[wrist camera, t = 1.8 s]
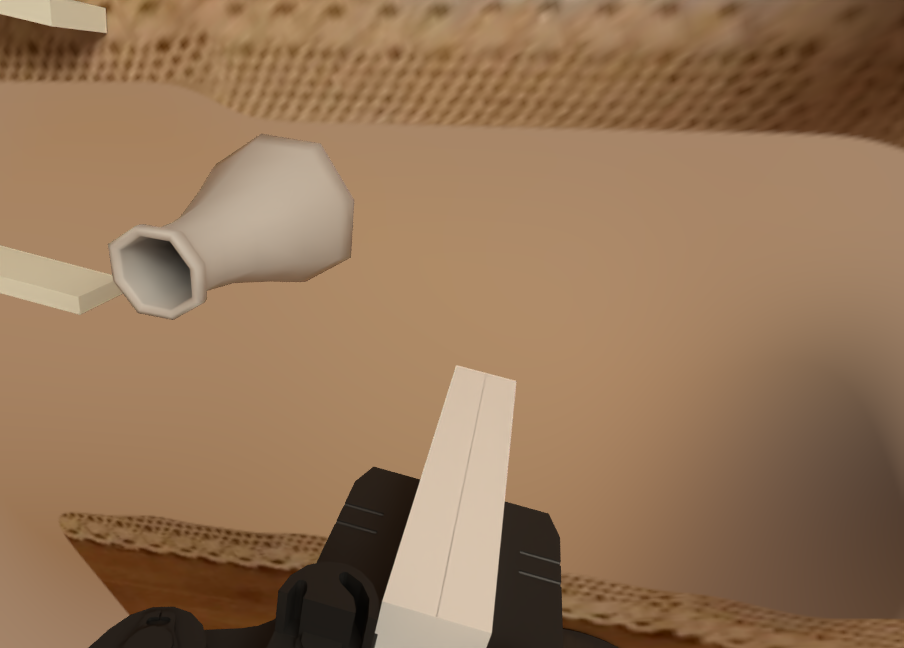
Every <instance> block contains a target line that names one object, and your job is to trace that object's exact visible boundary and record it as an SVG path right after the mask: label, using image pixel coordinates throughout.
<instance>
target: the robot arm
mask: <svg viewBox="0 0 904 648" xmlns="http://www.w3.org/2000/svg"><path fill="white" fill-rule="evenodd" d="M515 390H516V381H514V380H511V379H507V378H503V377H499V376H496V375H492V374H488V373H484V372H480V371H477V370H473V369H469V368H465V367H462V366H458V365H456V368H455V371H454V374H453V377H452V380H451V384H450V387H449V390H448V393H447V396H446V400H445V403H444V406H443V409H442V413H441V416H440V419H439V422H438V425H437V428H436V431H435V435H434V438H433V441H432V444H431V447H430V451H429V454H428V457H427V460H426V463H425V466H424V470H423V473H422V476H421V479H416V478H413V477H409V476H405V475H402V474H398V473H395V472H391V471H387V470H384V469H380V468H377V467H373V468H371V469H370V470H369V471H368V472H367V473H365V474H364V475H363V476H362V477H360V478H359V479H358V480H356V481H355V483H354V485H353V487H352V489H351V491H350V494H349V496H348V498H347V500H346V502H345V505H344V507H343V508H342V510H341V513H340V515H339V517H338V519H337V522H336V524H335V525H334V527H333V529H332V531H331V534H330V536H329V538H328V540H327V542H326V544H325V546H324V548H323V550H322V553H321V555H320V557H319V559H318V561H317V563H315V564H311V565H307V566H305V567H304V568H302V569H300V570H299V571H297V572H296V573H294V574H292V575H291V576H290V577H289V578H288V579H287V581H286V582H285V583H284V585H283V586H282V587H281V588H280V590H279V592H278V602H277V612H276V619H274V620H272V621H270V622H267V623H264V624H262V625H259V626H254V627H248V628H239V629H216V630H204V629H203V625H202V624H201V623H200V622H199V621H198V620H197V619H196V618H195V617H194V616H193V615H192V613H190V612H187V611H184V610H181V609H179V608H176V607H152V608H149V609H146V610H143V611H141V612H138V613H135V614H132V615H129V616H128V617H127V618H125V619H124V620H122V621H121V622H119V623H118V624H116V625H115V626H113V627H112V628H110V629H109V630H108V631H107V632H106V633H104V634H103V635H102V636H101V637H100V638H99V639H98V640H97V641H96V642H94V643H93V644H92V645H91V646H90V647H89V648H618V647H616V646H614V645H612V644H610V643H608V642H606V641H603V640H601V639H598V638H596V637H593V636H590V635H587V634H584V633H580V632H576V631H571V630H567V629H563V626H562V593H561V587H560V584H561V566H560V561H561V560H560V537H559V535H558V532H557V530H556V528H555V526H554V524H553V522H552V520H551V518H550V516H549V514H548V513H544V512H541V511H537V510H533V509H529V508H526V507H522V506H519V505H515V504H512V503H508V502H505V492H506V482H507V472H508V461H509V450H510V441H511V431H512V421H513V410H514V400H515Z"/></svg>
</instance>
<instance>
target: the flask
mask: <svg viewBox="0 0 904 648" xmlns="http://www.w3.org/2000/svg"><path fill="white" fill-rule="evenodd" d="M353 210H354V199H353V197H352V195H351V194H350V192H349V190H348V189H347V187H346V185H345V184H344V182H343V180H342V179H341V177H340V175H339V174H338V172H337V170H336V169H335V167H334V165H333V163H332V162H331V160H330V159H329V157H328V155H327V154H326V152H325V150H324V148H323V147H322V145H321V144H320V143H313V142H308V141H301V140H295V139H289V138H283V137H277V136H270V135H265V134H260V135H259V136H257V137H256V138H254V139H253V140H251V141H250V142H248V143H247V144H246V145H244V146H243V147H241V148H240V149H238V150H236V151H235V152H234V153H232V154H231V155H229V156H228V157H226V158H225V159H223V160H222V161H220V162H219V163H217V164H216V165H215V167H214V168H213V169H212V171H211V172H210V174H209V176H208V177H207V179H206V181H205V182H204V184H203V186H202V187H201V189H200V191H199V192H198V193H197V195H196V196H195V198H194V199H193V200H192V202H191V203H190V204H189V206H188V207H187V208H186V210H185V211H184V212H183V214H182V215H181V217H179V218H178V219H177V220H175V221H174V222H172V223H170V224H167V225H165V226H163V227H156V226H151V225H144V224H142V225H137V226H135V227H133V228H132V229H130V230H129V231H127V232H126V233H124V234H123V235H121V236H120V237H118V238H117V239H115V240H114V241H112V242H111V243H109V244H108V248H109V255H110V262H111V269H112V276H113V281H114V283H115V284H116V285H117V287H118V288H119V289H120V290H121V292H122V293H123V294H124V295H125V297H126V298H127V299H128V301H129V302H130V303H131V305H132V306H133V307H134V308H135V310H136V311H137V312H138V313H141V314H146V315H151V316H156V317H161V318H166V319H171V320H173V319H176V318H178V317H179V316H181V315H183V314H184V313H186V312H188V311H190V310H192V309H194V308H195V307H197V306H199V305H201V304H202V303H204V302H205V301H206V299H207V290H211V289H214V288H218V287H221V286H225V285H228V284H231V283H243V282H264V281H280V282H281V281H282V282H305V281H308V280H310V279H311V278H313V277H315V276H317V275H318V274H321V273H323V272H324V271H326V270H328V269H330V268H332V267H334V266H336V265H337V264H339V263H341V262H343V261H345V260H347V259H349V258H351V246H352V228H353Z"/></svg>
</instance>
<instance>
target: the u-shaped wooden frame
mask: <svg viewBox="0 0 904 648" xmlns="http://www.w3.org/2000/svg"><path fill="white" fill-rule="evenodd" d="M0 14H2V15H7V16H11V17H15V18H19V19H23V20H27V21H32V22H36V23H40V24H44V25H48V26H52V27H61V28H69V29H77V30H85V31H94V32H102V33H107V24H106V8H103V7H99V6H95V5H91V4H86V3H82V2H78V1H74V0H0ZM0 293H1V294H5V295H8V296H12V297H16V298H20V299H24V300H27V301H31V302H34V303H38V304H42V305H45V306H49V307H53V308H57V309H60V310H64V311H68V312H71V313H75V314H79V315H81V314H83V313H85V312H87V311H89V310H91V309H93V308H95V307H97V306H99V305H101V304H103V303H105V302H107V301H109V300H111V299H113V298H115V297H117V296H119V295H122V292H121V290H120V289H119V288H118V287H117V285H116V284H115V283H114V281H113V276H112V275H110V274H106V273H102V272H99V271H95V270H91V269H88V268H84V267H80V266H76V265H73V264H69V263H65V262H61V261H57V260H54V259H50V258H46V257H42V256H39V255H35V254H31V253H27V252H24V251H20V250H16V249H12V248H9V247H4V246H1V245H0Z"/></svg>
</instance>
